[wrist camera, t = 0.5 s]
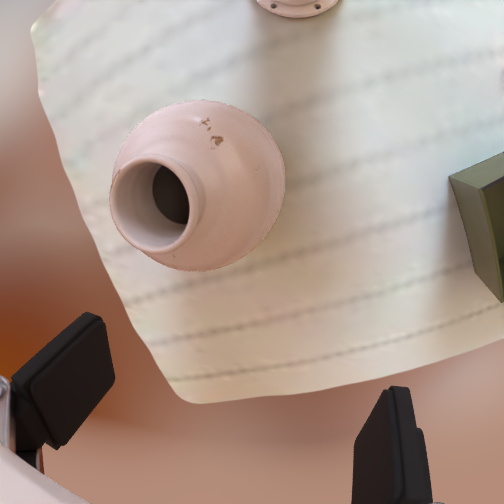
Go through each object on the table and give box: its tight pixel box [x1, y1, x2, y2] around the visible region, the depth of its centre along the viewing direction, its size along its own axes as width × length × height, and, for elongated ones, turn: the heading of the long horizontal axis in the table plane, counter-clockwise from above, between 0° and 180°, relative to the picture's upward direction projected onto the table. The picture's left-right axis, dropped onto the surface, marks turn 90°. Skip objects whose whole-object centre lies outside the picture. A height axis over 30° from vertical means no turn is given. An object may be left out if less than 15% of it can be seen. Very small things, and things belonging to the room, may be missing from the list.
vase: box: [109, 100, 286, 271], centre depth 31 cm, size 16×16×23 cm
